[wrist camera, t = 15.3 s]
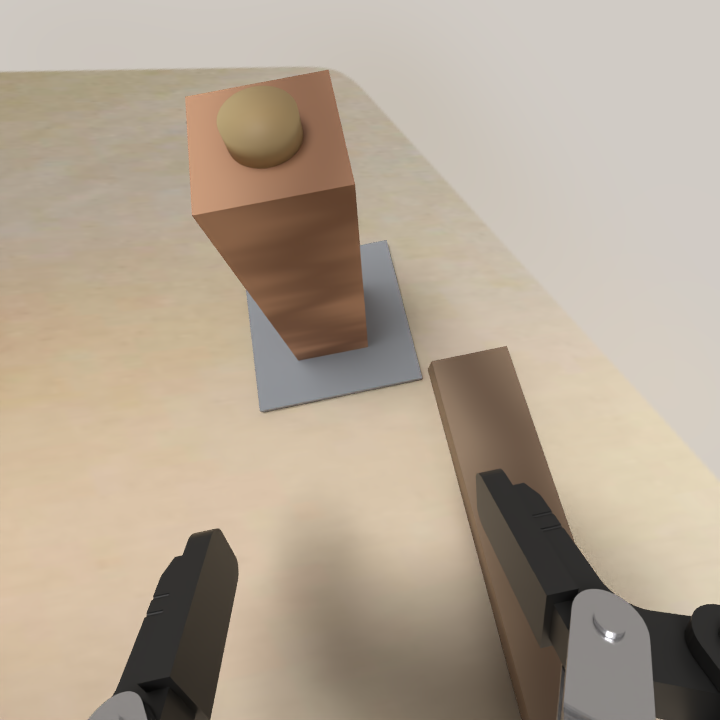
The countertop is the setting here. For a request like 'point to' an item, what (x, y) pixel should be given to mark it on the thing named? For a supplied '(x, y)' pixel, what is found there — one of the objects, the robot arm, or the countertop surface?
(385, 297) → the slate mat
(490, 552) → the walnut board
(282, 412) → the countertop surface
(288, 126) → the post
